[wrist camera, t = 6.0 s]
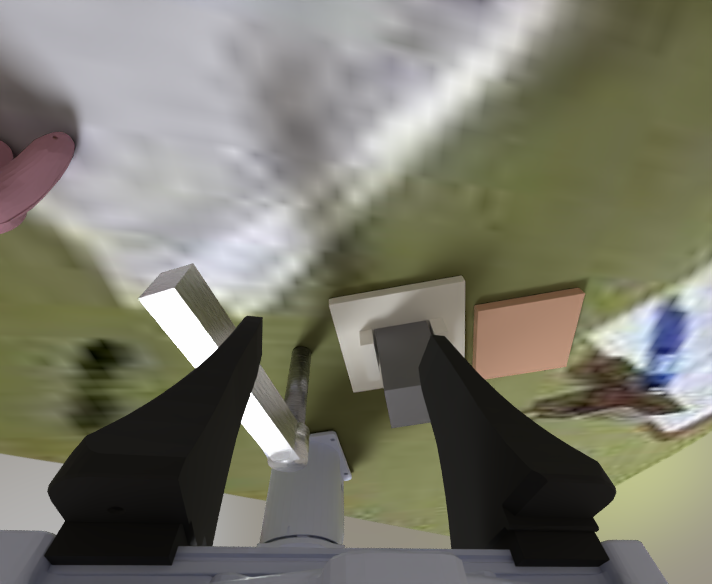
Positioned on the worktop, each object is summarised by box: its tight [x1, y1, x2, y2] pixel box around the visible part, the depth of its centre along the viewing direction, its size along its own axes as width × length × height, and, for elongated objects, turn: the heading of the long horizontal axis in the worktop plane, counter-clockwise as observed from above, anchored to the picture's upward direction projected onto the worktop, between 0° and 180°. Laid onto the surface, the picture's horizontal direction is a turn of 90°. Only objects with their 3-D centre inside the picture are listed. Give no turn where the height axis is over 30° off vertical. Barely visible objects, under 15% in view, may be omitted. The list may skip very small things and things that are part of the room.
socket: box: [284, 275, 465, 424], centre depth 24 cm, size 10×14×7 cm
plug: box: [375, 320, 431, 428], centre depth 24 cm, size 4×4×6 cm
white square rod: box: [138, 263, 310, 472], centre depth 17 cm, size 2×14×2 cm, turn 16°
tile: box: [473, 288, 585, 379], centre depth 27 cm, size 8×8×1 cm
